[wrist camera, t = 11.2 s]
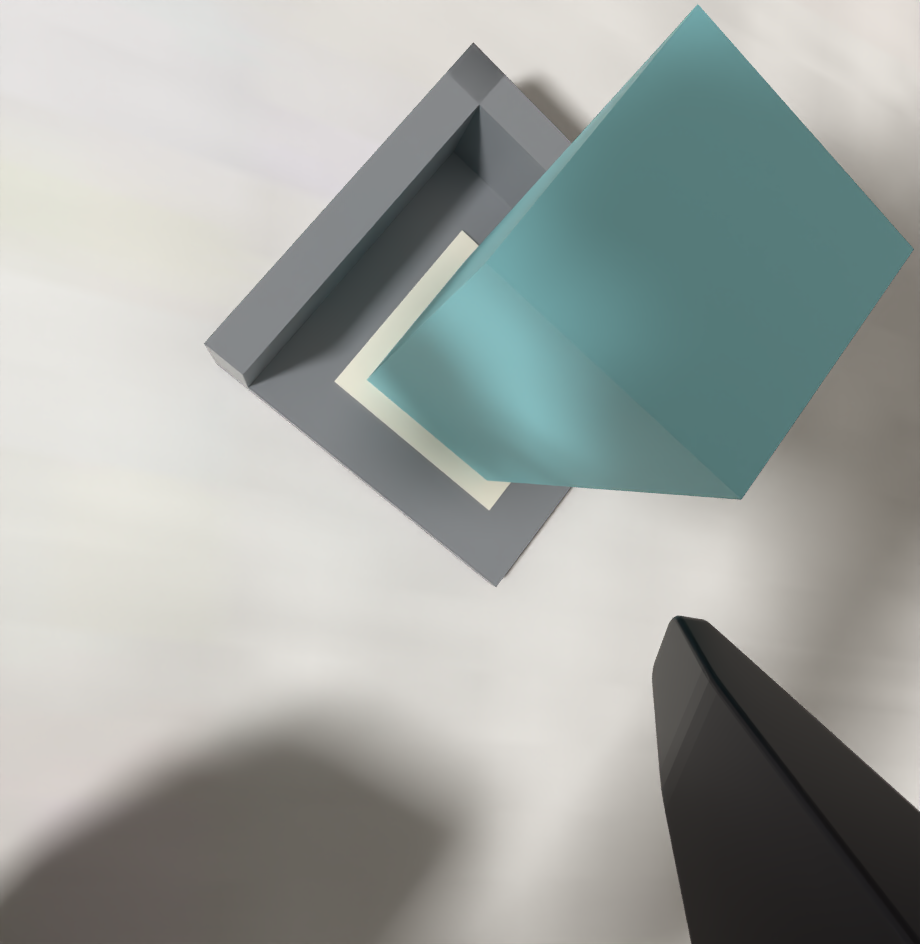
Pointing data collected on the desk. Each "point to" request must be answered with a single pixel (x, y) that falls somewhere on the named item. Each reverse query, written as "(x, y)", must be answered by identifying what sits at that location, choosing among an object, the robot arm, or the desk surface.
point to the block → (653, 292)
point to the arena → (400, 306)
